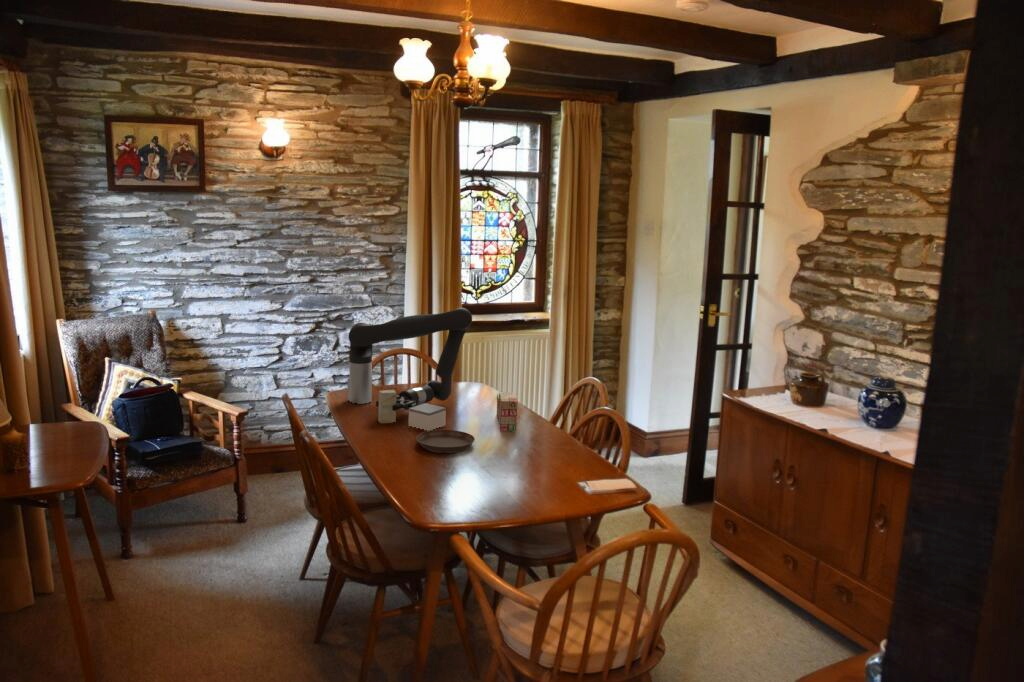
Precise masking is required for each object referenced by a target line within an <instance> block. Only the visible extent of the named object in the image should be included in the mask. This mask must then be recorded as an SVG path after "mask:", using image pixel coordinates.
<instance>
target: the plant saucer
mask: <svg viewBox="0 0 1024 682" xmlns="http://www.w3.org/2000/svg"><path fill="white" fill-rule="evenodd" d="M415 438H416V439H415V440H416V441H417V443H418V444H419V445H420V447H422V448H423V449H424V450H426V451H429V452H433V453H439V454H453V453H460V452H463V451H465V450H467V449H468V448H470V447H471V446H472V444H473V443H474V442H475V440H476V439H475V436H474V435H472V434H470V433H469V432H465V431H461V430H455V429H434V430H431V431H426V430H425V431H423V432H420V433H419V434H417V436H416V437H415Z"/></svg>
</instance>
